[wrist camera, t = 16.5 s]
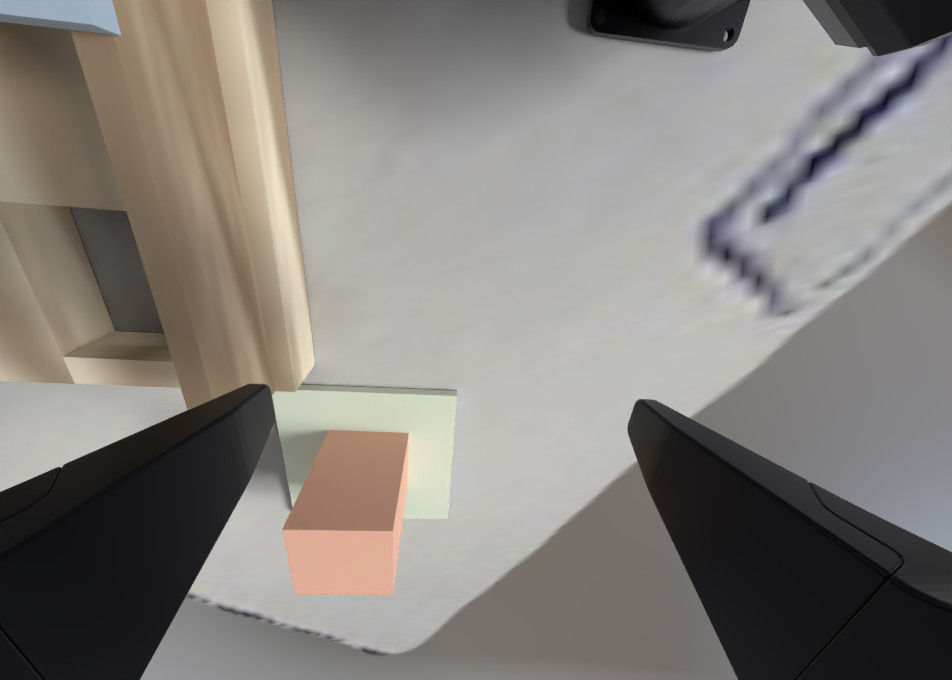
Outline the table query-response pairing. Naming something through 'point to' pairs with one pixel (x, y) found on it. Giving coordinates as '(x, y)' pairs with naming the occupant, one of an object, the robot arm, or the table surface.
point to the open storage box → (152, 200)
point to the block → (350, 515)
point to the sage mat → (374, 411)
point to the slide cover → (63, 14)
